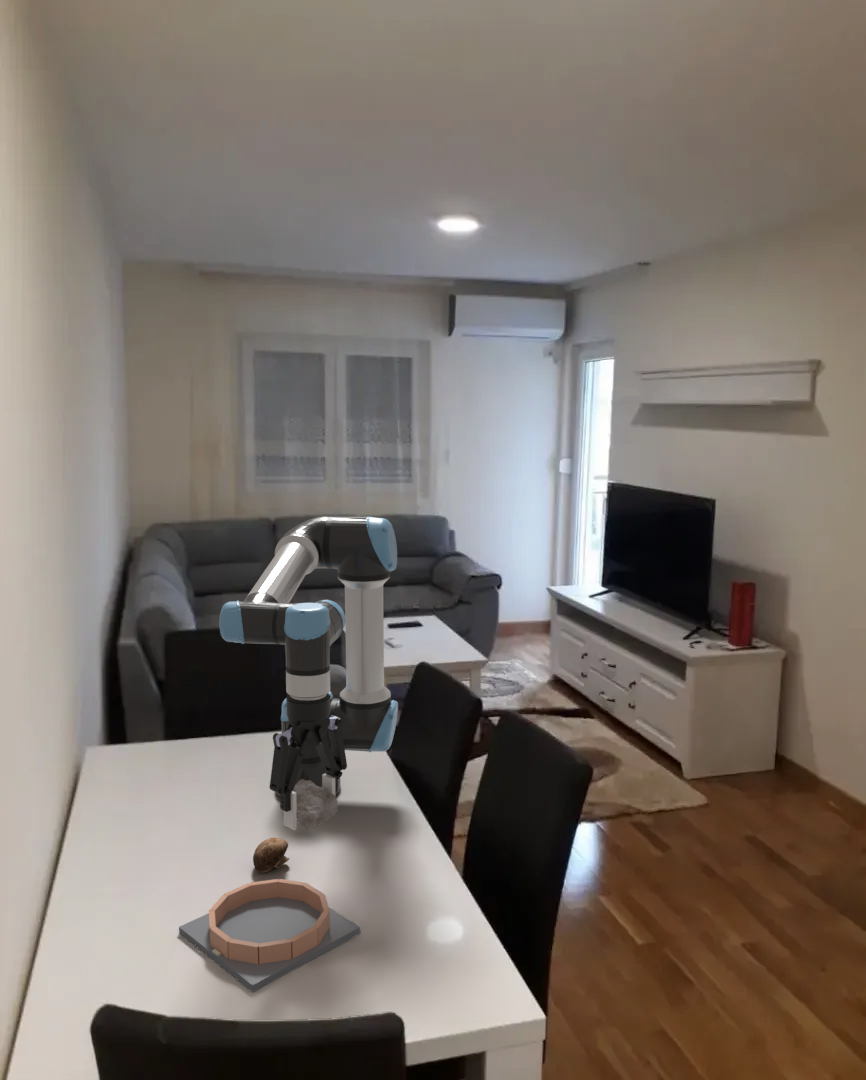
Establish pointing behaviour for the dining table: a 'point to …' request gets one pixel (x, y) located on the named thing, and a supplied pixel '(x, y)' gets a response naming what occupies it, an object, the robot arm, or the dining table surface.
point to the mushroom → (270, 854)
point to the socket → (268, 930)
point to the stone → (314, 804)
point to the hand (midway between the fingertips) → (310, 818)
